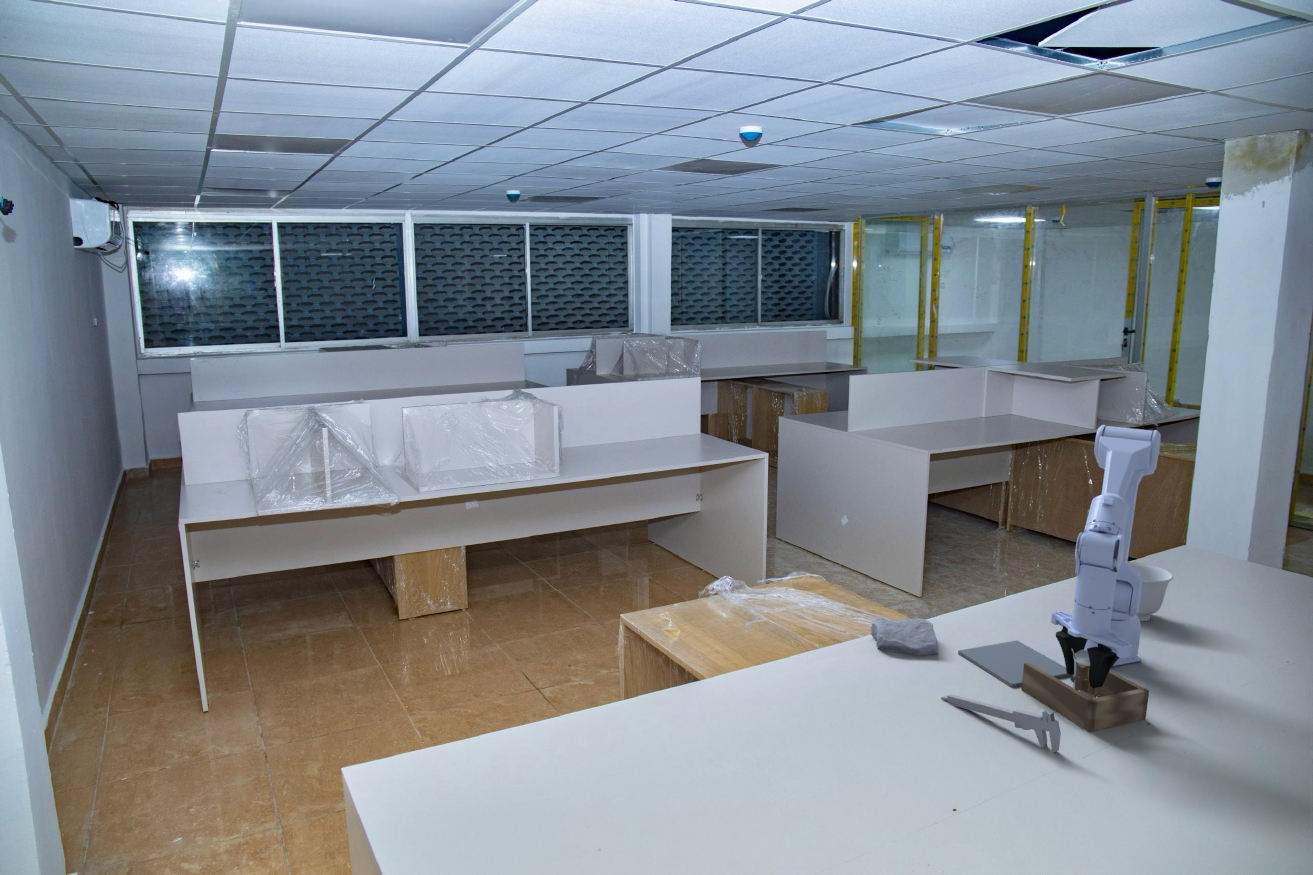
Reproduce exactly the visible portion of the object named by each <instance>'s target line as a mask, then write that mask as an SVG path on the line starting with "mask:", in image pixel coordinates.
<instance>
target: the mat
mask: <svg viewBox="0 0 1313 875" xmlns="http://www.w3.org/2000/svg"><path fill="white" fill-rule="evenodd" d="M957 654H958V655H959V656H961V657H963V658H965V659H966V660H968V661H969V662H970V663H972V664H974V665H976V666H977V667H979V668H980V669H982V670H984V671H985V672H986V673H988V674H989V675H990V676H993V677H994V678H996V679H997V680H999V681H1001V682H1002V683H1004V684H1005V685H1007V686H1008V687H1010V688H1015V687H1022V678H1023V669H1024V663H1027V662H1029V663H1031V664H1033V665H1034V666H1036V667H1038V668H1040V669H1041V670H1043V671H1045V672H1047V673H1048V674H1050V675H1052V676H1053V677H1055V678H1057V679H1061V678H1066V677H1071V675H1069V674H1067V671H1066V666H1064V665H1062V664H1060V663H1058V662H1057V661H1055V660H1053V659H1051V658H1049V657H1048V656H1046V655H1044V654H1043V653H1040V652H1039V651H1037V650H1035V649H1034V648H1031V647H1030V646H1028V645H1026V644H1024V643H1022V642H1021V641H1019V640H1012V641H1011V640H1010V641H1005V642H1000V643H994V644H990V645H989V644H988V645H983V646H977V647H972V648H967V649H961V650H960V649H959V650H958V652H957Z"/></svg>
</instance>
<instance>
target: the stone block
mask: <svg viewBox="0 0 1313 875" xmlns="http://www.w3.org/2000/svg"><path fill="white" fill-rule="evenodd" d="M870 635H871V637H872V638H873V640H874V641H875V642H876V648H878V649H880V650H885V651H891V652H898V653H902V654H908V655H914V656H915V655H916V656H931V655H937V654H938V653H939V652H938V651H939V650H938V649H939V647H938V646H939V645H938V639H937V636H936V632H935V630H934V625H933V623H932V622H931V621H929V620H926V619H925V618H919V617H917V618H916V617H915V618H905V619H902V620H897V621H896V620H888V619H886V618H883V617H879V618H877V619H876V618H875V620H874V621H873V622H872V623H871V627H870Z"/></svg>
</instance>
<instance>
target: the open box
mask: <svg viewBox="0 0 1313 875" xmlns="http://www.w3.org/2000/svg"><path fill="white" fill-rule="evenodd" d="M1070 681H1072V682H1073V674H1072V675H1071V676H1070ZM1020 690H1021V691H1023V692H1024V693H1025V694H1028V695H1029V696H1031V697H1032V698H1034V700H1035V699H1036V700H1037V701H1039V702H1040V703H1042V704H1043V705H1045V706H1047V707H1048V708H1049V709H1051V710H1053V712H1056V713H1058V714H1059V715H1061V716H1062V717H1063V718H1066V719H1067V720H1069V721H1070V722H1072V723H1074V724H1075V725H1077V726H1078V727H1080V728H1082V729H1083V730H1085V731H1086V732H1088V733H1091V732H1095V731H1099V730H1104V729H1109V728H1111V727H1116V726H1120V725H1125V724H1129V723H1135V722H1139V721H1143V720H1146V718H1147V710H1148V705H1149V704H1148V703H1149V697H1150V690H1149V689H1147V688H1145V687H1143V686H1141V685H1139V684H1137V683H1135V682H1134V681H1132V680H1130V679H1128V678H1127V677H1124V676H1123V675H1121V674H1119V673H1117V672H1114V671H1113V670H1111V669H1110V671H1109V673H1108V675H1107V677H1106V679H1105V681H1104V684H1103V686H1102V687H1098V692H1097V696H1098V697H1096V698H1094V699H1091V698H1090V697H1088V696H1086V695H1084V694H1083V693H1081V692H1079V691H1078V690H1076V689H1074V688H1073V686H1071V685H1069V684H1068V683H1065V682H1063V681H1062V680H1060V678H1055V677H1053V676H1052V675H1050V674H1048V673H1047V672H1045V671H1043V670H1041V669H1040V668H1038V667H1036V666H1034V665H1033V664H1031V663H1029V662H1027V663H1024V669H1023V678H1022V685H1021V689H1020Z"/></svg>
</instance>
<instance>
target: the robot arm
mask: <svg viewBox="0 0 1313 875" xmlns="http://www.w3.org/2000/svg"><path fill="white" fill-rule="evenodd" d="M1161 435H1162V434H1161V432H1159V430H1157V429H1155V430H1148V429H1140V428H1129V427H1119V426H1112V425H1110V426H1109V425H1106V424H1102V425H1101V426H1099V427H1098V429H1097V430H1096V435H1095V440H1094V447H1093V448H1094V449H1093V451H1094V452H1093V453H1094V456H1095V460H1096V463H1097V465H1098V467H1099V468H1101V469H1102V470H1104V474H1103V482H1102V488H1101V494H1100V495H1097V496H1095V497H1094V498H1093V499H1092V500H1091V502H1090V503H1091V504H1090V507H1089V511H1088V514H1087V518H1086V522H1085V526H1084V531H1083V532H1079V534H1078V536H1077V539H1076V544H1075V553H1074V555H1075V557H1074V558H1075V569H1074V570H1075V571H1074V574H1075V575H1076V579H1075V588H1074V595H1073V596H1074V597H1073V604H1072V605H1073V608H1072V613H1071V614H1070V613H1066V612H1064V611H1062V610H1059V611H1054V612H1051V619H1050V620H1051V621H1050V623H1051V624H1053V625H1054V626H1056V625H1057V626H1058V625H1059V626H1061V627H1062V629H1061V630H1059V631H1056V632H1055V637H1056V639H1057V641H1058V643H1059V646H1060V648H1061V652H1062V654H1063V659H1064V663H1065V667H1066V671H1067V674H1069V675H1072V674H1073V652H1072V649H1073V651H1074V654H1075V653H1076V652H1078V651H1079V650H1087V652H1088V655H1089V660H1090V680H1089V681H1090V687H1092V688H1098V687H1102V686H1103V684H1104V681H1105V679H1106V677H1107V675H1108V673H1109V671H1110V670H1111V669H1112V667H1115V666H1122V665H1126V664H1132V663H1137V662H1141V661H1142V658H1141V657H1139V656H1138V655H1139V649H1140V647H1139V646H1140V640H1141V632H1142V625H1141V621H1139V618H1138V617H1137V614H1138V610H1139V606H1140V600H1141V592H1142V586H1141V584H1142V578H1141V575H1140V573H1139V572H1138V571H1137V570H1135V569H1134V568H1133V567H1132V566H1131V565H1130V564H1129V563H1128V562H1129V561H1128V560H1129V555H1130V554H1129V553H1130V547H1131V546H1130V545H1131V539H1132V531H1133V525H1134V517H1135V510H1136V503H1137V496H1138V489H1139V485H1140V483H1141V481H1142V479H1143V477H1145V476H1149V475H1153V474H1155V470H1157V466H1158V460H1159V454H1160V448H1161V439H1162V438H1161V437H1162V436H1161ZM1116 578H1117V579H1116ZM1118 579H1123V580H1118ZM1124 580H1126V581H1124ZM1071 648H1072V649H1071Z"/></svg>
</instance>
